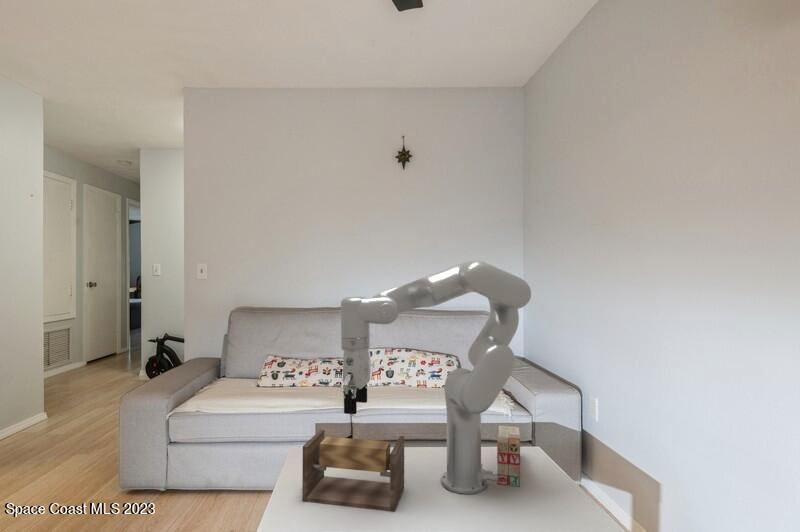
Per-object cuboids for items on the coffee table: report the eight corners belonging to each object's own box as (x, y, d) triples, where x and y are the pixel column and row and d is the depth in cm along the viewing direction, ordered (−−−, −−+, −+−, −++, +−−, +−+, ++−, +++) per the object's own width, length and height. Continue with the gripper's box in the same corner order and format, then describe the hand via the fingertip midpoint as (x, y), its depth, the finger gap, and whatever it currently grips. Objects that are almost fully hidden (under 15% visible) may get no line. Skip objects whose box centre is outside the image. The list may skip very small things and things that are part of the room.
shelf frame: (404, 487, 118) (404, 436, 118) (394, 511, 106) (394, 454, 106) (320, 479, 123) (320, 429, 123) (302, 501, 111) (302, 446, 111)
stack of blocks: (499, 453, 140) (499, 415, 141) (519, 456, 139) (519, 417, 139) (497, 485, 120) (497, 440, 120) (520, 488, 118) (520, 442, 118)
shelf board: (390, 464, 115) (390, 441, 115) (385, 472, 110) (385, 449, 110) (326, 458, 119) (326, 436, 119) (319, 466, 114) (319, 443, 114)
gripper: (359, 349, 106) (360, 419, 106) (377, 338, 123) (377, 398, 123) (330, 348, 107) (331, 417, 107) (352, 338, 124) (352, 397, 124)
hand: (356, 407), depth 115 cm, fingers open, 9 cm apart
